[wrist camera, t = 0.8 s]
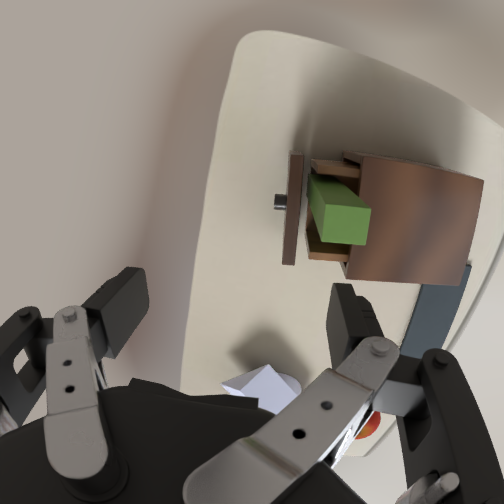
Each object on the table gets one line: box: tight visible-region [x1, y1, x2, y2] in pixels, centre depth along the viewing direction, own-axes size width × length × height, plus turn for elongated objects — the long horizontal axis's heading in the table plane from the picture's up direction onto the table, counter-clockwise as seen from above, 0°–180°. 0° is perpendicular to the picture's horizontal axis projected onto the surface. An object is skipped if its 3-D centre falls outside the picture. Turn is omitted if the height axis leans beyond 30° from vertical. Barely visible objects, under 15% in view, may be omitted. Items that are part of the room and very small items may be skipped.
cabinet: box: [340, 150, 484, 286], centre depth 29 cm, size 14×12×10 cm
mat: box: [400, 265, 472, 359], centre depth 39 cm, size 22×8×1 cm, turn 178°
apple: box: [355, 411, 381, 439], centre depth 43 cm, size 8×8×8 cm
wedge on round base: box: [220, 364, 302, 415], centre depth 43 cm, size 9×7×13 cm
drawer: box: [274, 150, 360, 266], centre depth 30 cm, size 14×10×8 cm
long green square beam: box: [306, 174, 371, 245], centre depth 25 cm, size 2×3×15 cm
